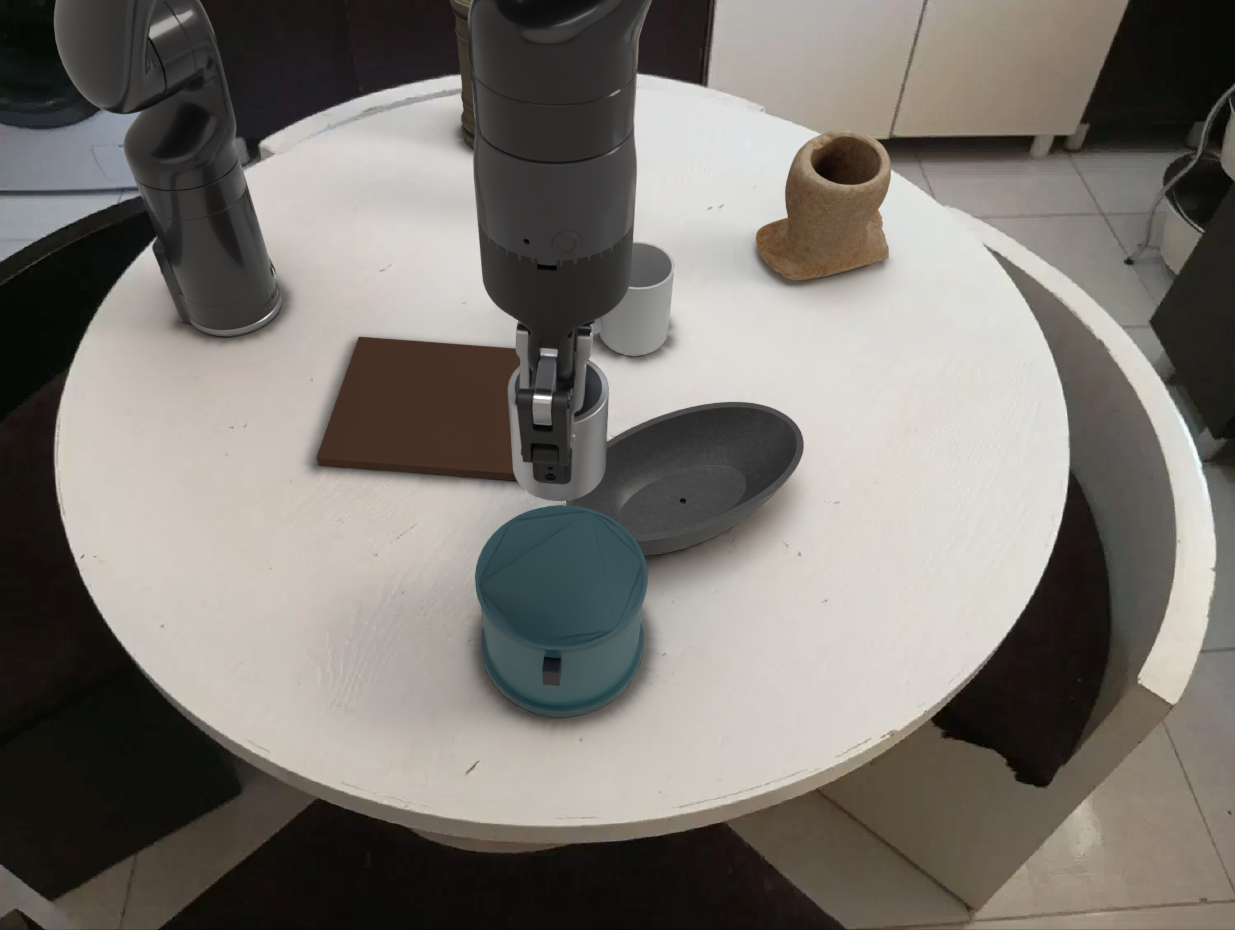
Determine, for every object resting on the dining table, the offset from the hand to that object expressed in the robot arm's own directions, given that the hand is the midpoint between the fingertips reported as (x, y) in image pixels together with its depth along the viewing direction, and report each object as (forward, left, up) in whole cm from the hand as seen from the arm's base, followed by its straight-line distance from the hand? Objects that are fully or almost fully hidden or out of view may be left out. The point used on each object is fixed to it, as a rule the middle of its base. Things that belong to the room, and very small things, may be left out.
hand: (558, 437), depth 60 cm
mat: (-14, +24, -25) cm, 37 cm away
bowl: (+9, +14, -25) cm, 30 cm away
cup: (+2, +36, -25) cm, 44 cm away
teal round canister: (0, 0, -25) cm, 25 cm away
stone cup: (+24, +51, -25) cm, 62 cm away
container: (-16, +71, -25) cm, 77 cm away
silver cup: (0, 0, -3) cm, 3 cm away
